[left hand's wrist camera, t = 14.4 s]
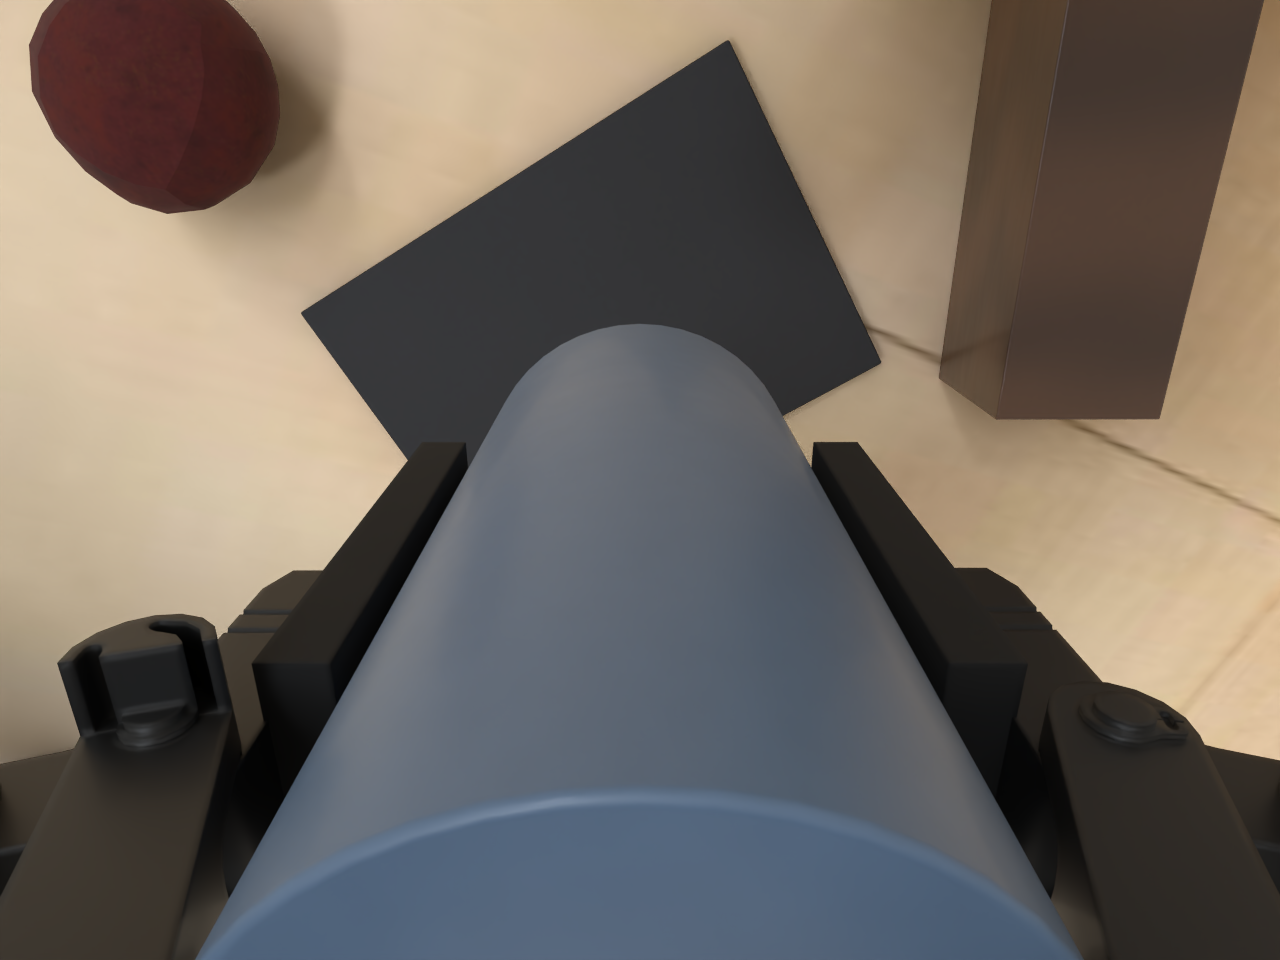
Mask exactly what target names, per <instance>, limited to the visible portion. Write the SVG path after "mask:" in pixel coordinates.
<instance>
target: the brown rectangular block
mask: <svg viewBox="0 0 1280 960" xmlns="http://www.w3.org/2000/svg"><path fill="white" fill-rule="evenodd" d="M1263 2H1264V0H992V5H991V12H990V19H989V26H988V33H987V40H986V48H985V55H984V62H983V69H982V76H981V83H980V90H979V97H978V104H977V112H976V119H975V126H974V133H973V140H972V147H971V154H970V161H969V168H968V176H967V183H966V190H965V197H964V204H963V211H962V218H961V225H960V232H959V239H958V247H957V254H956V261H955V268H954V275H953V282H952V289H951V296H950V303H949V311H948V318H947V325H946V332H945V339H944V346H943V353H942V360H941V367H940V375H939V379H941V380H942V381H944V382H945V383H946V384H948V385H949V386H951V387H952V388H953V389H955V390H956V391H958V392H959V393H960V394H962V395H963V396H965V397H966V398H967V399H969V400H970V401H971V402H973V403H974V404H976V405H977V406H978V407H980V408H981V409H983V410H984V411H985V412H987V413H988V414H990V415H991V416H992V417H994V418H995V419H1159V418H1160V414H1161V410H1162V406H1163V402H1164V398H1165V394H1166V390H1167V386H1168V382H1169V378H1170V374H1171V370H1172V366H1173V362H1174V358H1175V354H1176V350H1177V346H1178V342H1179V338H1180V334H1181V330H1182V326H1183V322H1184V318H1185V314H1186V310H1187V306H1188V302H1189V298H1190V294H1191V290H1192V286H1193V282H1194V278H1195V274H1196V270H1197V266H1198V262H1199V258H1200V254H1201V250H1202V246H1203V242H1204V238H1205V234H1206V230H1207V226H1208V222H1209V218H1210V214H1211V210H1212V206H1213V202H1214V198H1215V194H1216V190H1217V186H1218V182H1219V178H1220V174H1221V170H1222V166H1223V162H1224V158H1225V154H1226V150H1227V146H1228V142H1229V138H1230V134H1231V130H1232V126H1233V122H1234V118H1235V114H1236V110H1237V106H1238V102H1239V98H1240V94H1241V90H1242V86H1243V82H1244V78H1245V74H1246V70H1247V66H1248V62H1249V58H1250V54H1251V50H1252V46H1253V42H1254V38H1255V34H1256V30H1257V26H1258V22H1259V18H1260V14H1261V10H1262V6H1263Z"/></svg>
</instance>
